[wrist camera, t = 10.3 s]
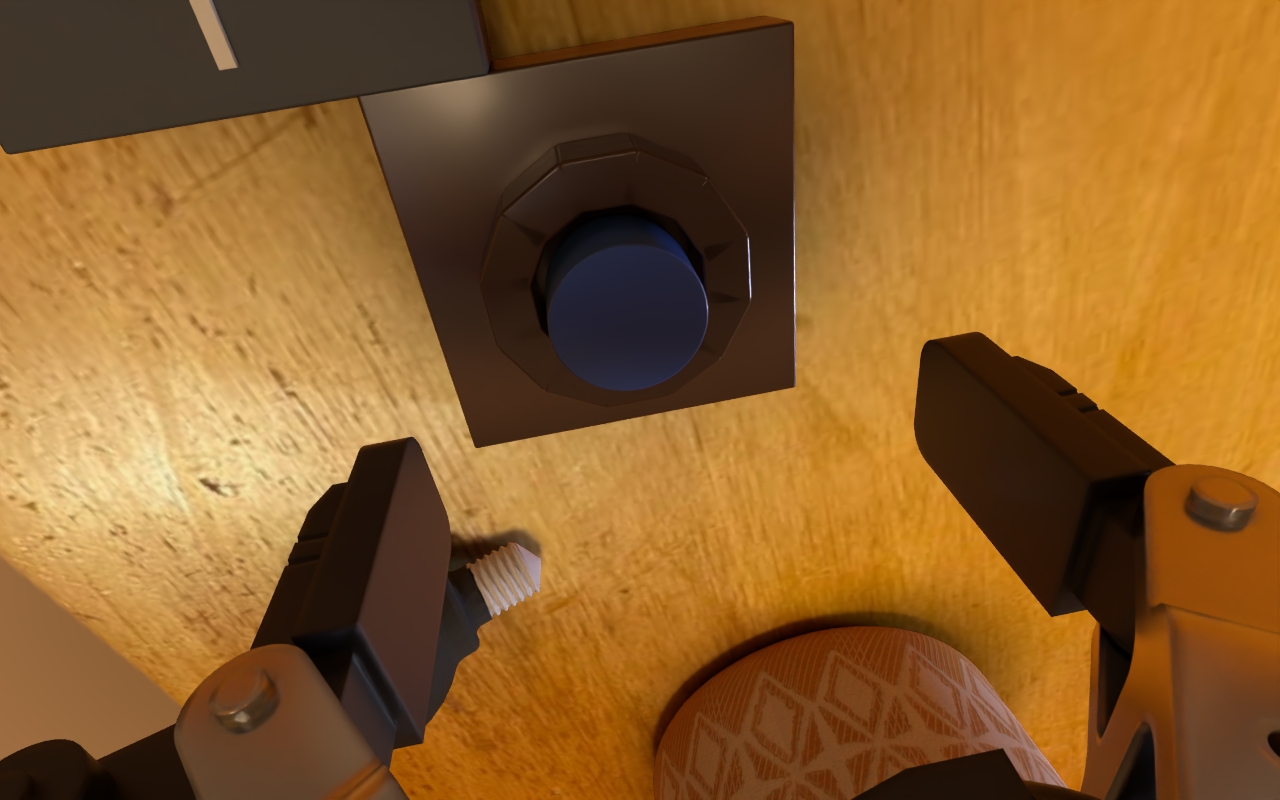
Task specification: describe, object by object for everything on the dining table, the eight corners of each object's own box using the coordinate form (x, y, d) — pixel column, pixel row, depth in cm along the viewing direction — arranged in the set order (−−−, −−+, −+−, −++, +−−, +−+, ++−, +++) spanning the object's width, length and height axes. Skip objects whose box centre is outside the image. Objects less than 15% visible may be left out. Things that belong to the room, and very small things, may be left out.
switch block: (373, 79, 17) (335, 107, 13) (766, 14, 17) (824, 26, 14) (478, 409, 22) (470, 487, 19) (775, 353, 23) (817, 420, 19)
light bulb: (600, 670, 24) (312, 850, 20) (544, 585, 29) (311, 717, 26) (534, 520, 21) (197, 698, 18) (487, 459, 27) (223, 587, 24)
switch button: (531, 228, 16) (531, 260, 14) (683, 201, 16) (702, 230, 14) (561, 361, 18) (564, 404, 16) (695, 336, 18) (714, 376, 16)
